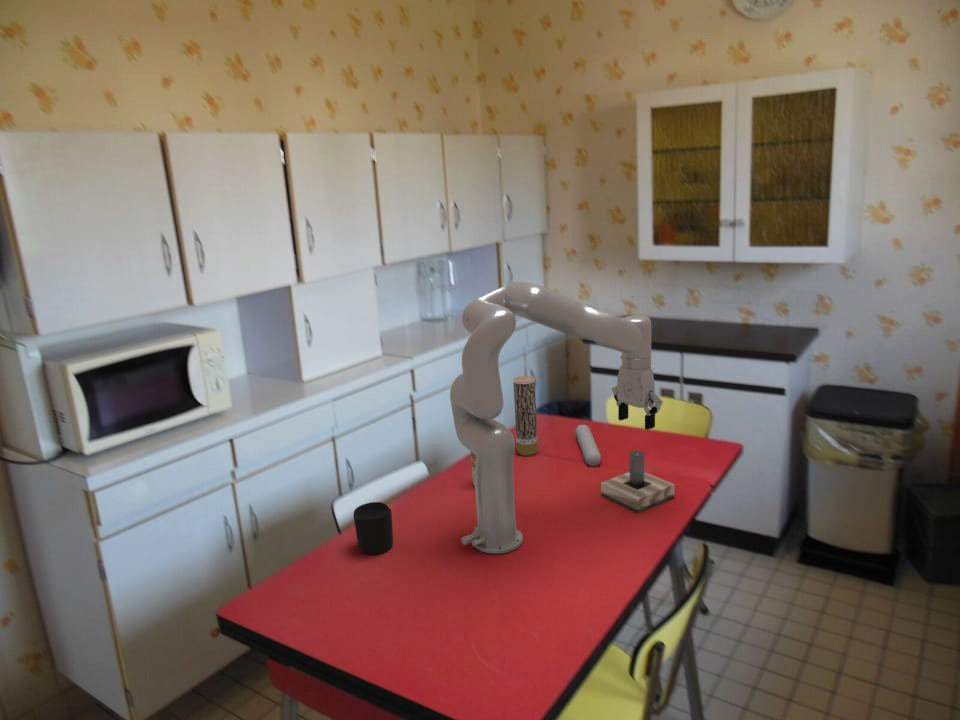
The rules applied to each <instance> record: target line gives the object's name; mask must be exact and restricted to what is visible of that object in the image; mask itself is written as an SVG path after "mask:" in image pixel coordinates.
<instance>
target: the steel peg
mask: <svg viewBox="0 0 960 720" xmlns="http://www.w3.org/2000/svg"><path fill="white" fill-rule="evenodd" d="M628 455H629V458H628V459H629V465H628V466H629V472H630V487H632V488H635V489H637V490H638V489H641V488H643V487H644V472H645V452H644V451H643V450H639V449H638V450H635V449H634V450H631V451H629V453H628Z"/></svg>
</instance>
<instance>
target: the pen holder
mask: <svg viewBox="0 0 960 720" xmlns="http://www.w3.org/2000/svg"><path fill="white" fill-rule="evenodd" d="M352 516H353V521H354V527H355V534H356V540H357V544H358V549H359V551H360V552H361V553H362V554H364V553H365V554H364V555H369V554H370V556H373V555H374V556H376V555H381V554H383V553H386V552H388V551H389V550H390V549H391V548H392V546H393V545H394V533H393V514H392V509H391V508H390V506H388V505H387V504H386V503H384V502H381V501H373V502H367V503H364V504H361V505H358V506H357V507H356V508H355V509H354V510H353V515H352Z"/></svg>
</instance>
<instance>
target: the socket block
mask: <svg viewBox="0 0 960 720" xmlns="http://www.w3.org/2000/svg"><path fill="white" fill-rule="evenodd" d="M600 492H601V493H600V495H601V497H603V498H605V499H607V500H609V501H612V502H614V503H616V504H617V505H619V506H622V507H623V508H626V509H628V510H629V511H632V512H634V513H636V514H640V513H643V512H644V511H647V510H650V509H652V508H654V507H656V506H658V505H661V504H663V503H666V502H667V501H670V500H672V499H675V483H672V482H670V481H667V480H666V479H665V480H664V479H662V478H660V477H657V476H655V475H653V474H650V473H648V472H645V471H644V487H643V488H641V489H638V490H637V489H635V488H632V487H630V471H628V472H625V473H623V474H620V475H617V476H615V477H612V478H610V479H607V480H604V481H602V482H600Z"/></svg>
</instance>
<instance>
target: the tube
mask: <svg viewBox="0 0 960 720" xmlns="http://www.w3.org/2000/svg"><path fill="white" fill-rule="evenodd" d="M574 432H575V434H574V435H575V437H576V438H577V442H578V445H579V447H580V448H579V449H580V450H581V453H582V457H583V459H584V462H585V463H586V465H588V466H589V467H597V466H599V464H600V463H601V460H602V458H601V456H602V455H601V453H600V450H599V448H598V446H597V443H596V440H595V438H594V436H593V434H592V430H591V427H590V426H588V425H586V424H579V425H577V427H576V428H575V430H574Z"/></svg>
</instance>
